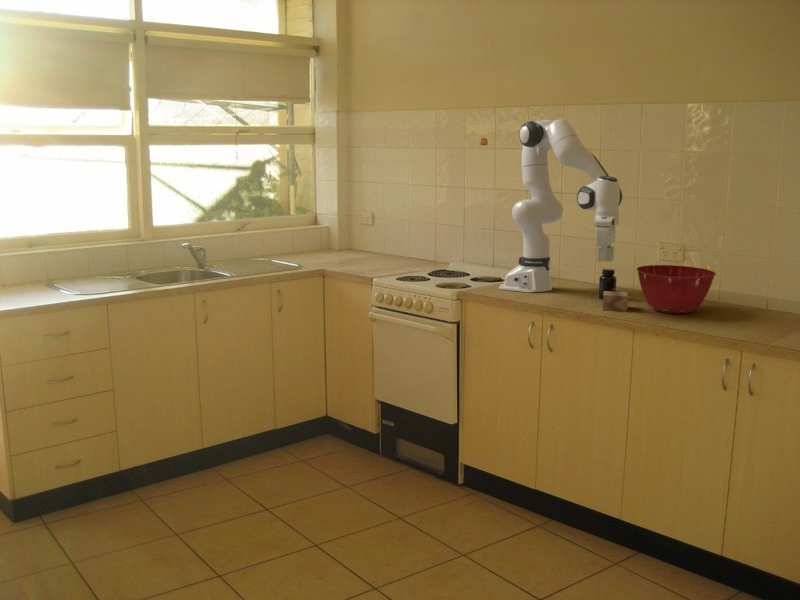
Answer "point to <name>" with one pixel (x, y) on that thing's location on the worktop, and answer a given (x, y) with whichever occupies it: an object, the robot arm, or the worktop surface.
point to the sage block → (609, 254)
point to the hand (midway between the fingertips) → (605, 256)
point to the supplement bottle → (607, 282)
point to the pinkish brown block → (615, 300)
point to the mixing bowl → (674, 287)
